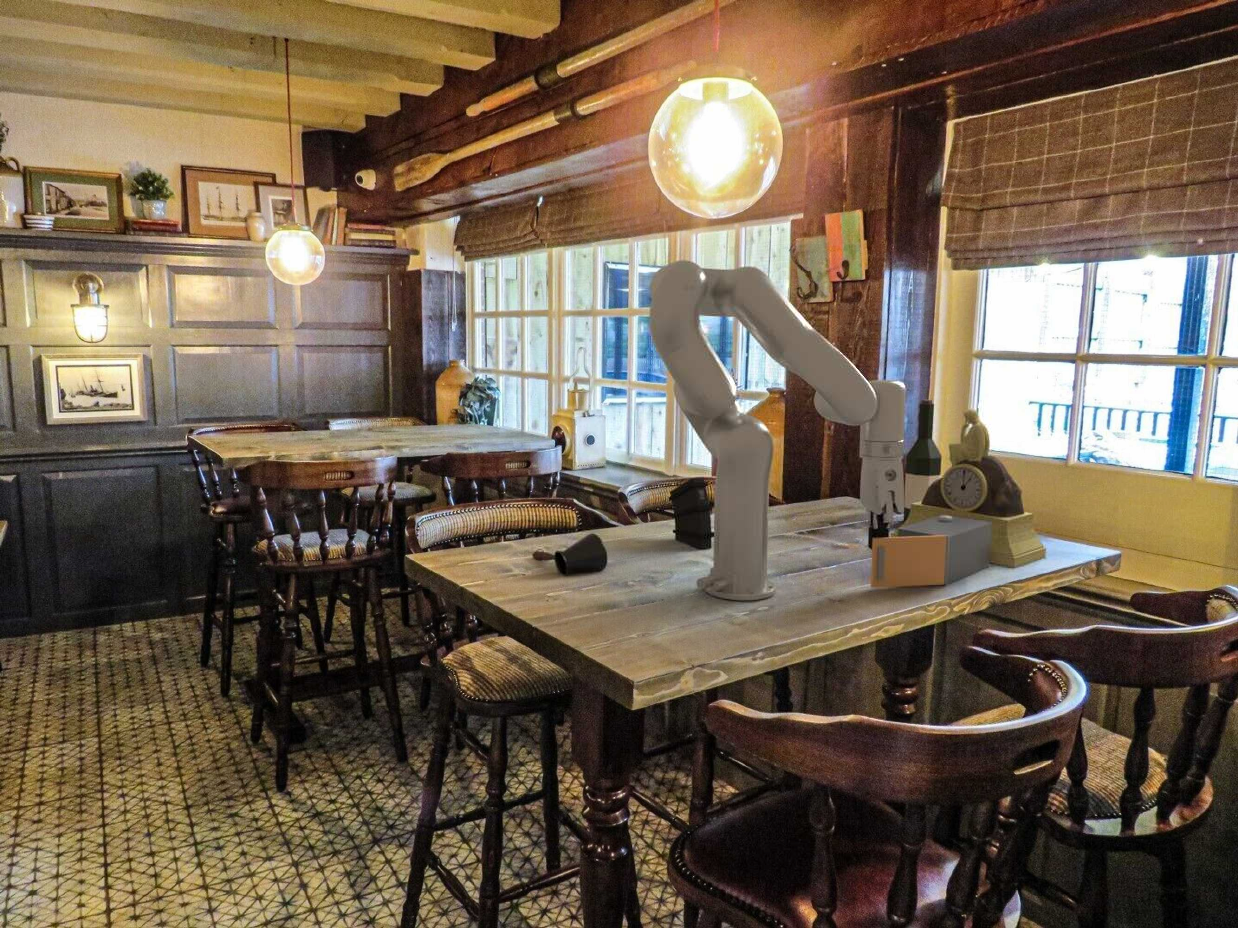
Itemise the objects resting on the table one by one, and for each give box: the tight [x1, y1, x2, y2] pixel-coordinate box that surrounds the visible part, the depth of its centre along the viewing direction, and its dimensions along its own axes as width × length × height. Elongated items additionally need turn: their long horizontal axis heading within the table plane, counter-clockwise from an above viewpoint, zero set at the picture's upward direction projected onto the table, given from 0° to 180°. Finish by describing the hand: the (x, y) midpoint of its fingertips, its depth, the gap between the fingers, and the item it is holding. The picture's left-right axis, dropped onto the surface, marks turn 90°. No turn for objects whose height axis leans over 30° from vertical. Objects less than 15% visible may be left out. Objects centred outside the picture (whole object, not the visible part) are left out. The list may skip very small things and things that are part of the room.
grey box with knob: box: [897, 515, 992, 586], centre depth 168 cm, size 20×10×10 cm, turn 133°
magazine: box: [668, 476, 714, 551], centre depth 189 cm, size 4×13×15 cm, turn 27°
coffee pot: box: [532, 533, 608, 577], centre depth 172 cm, size 8×18×8 cm
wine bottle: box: [902, 399, 943, 523], centre depth 205 cm, size 8×8×30 cm
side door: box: [870, 535, 950, 589], centre depth 155 cm, size 2×14×9 cm, turn 98°
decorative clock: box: [890, 408, 1047, 568], centre depth 182 cm, size 28×13×30 cm, turn 39°
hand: (878, 548), depth 157 cm, fingers closed
